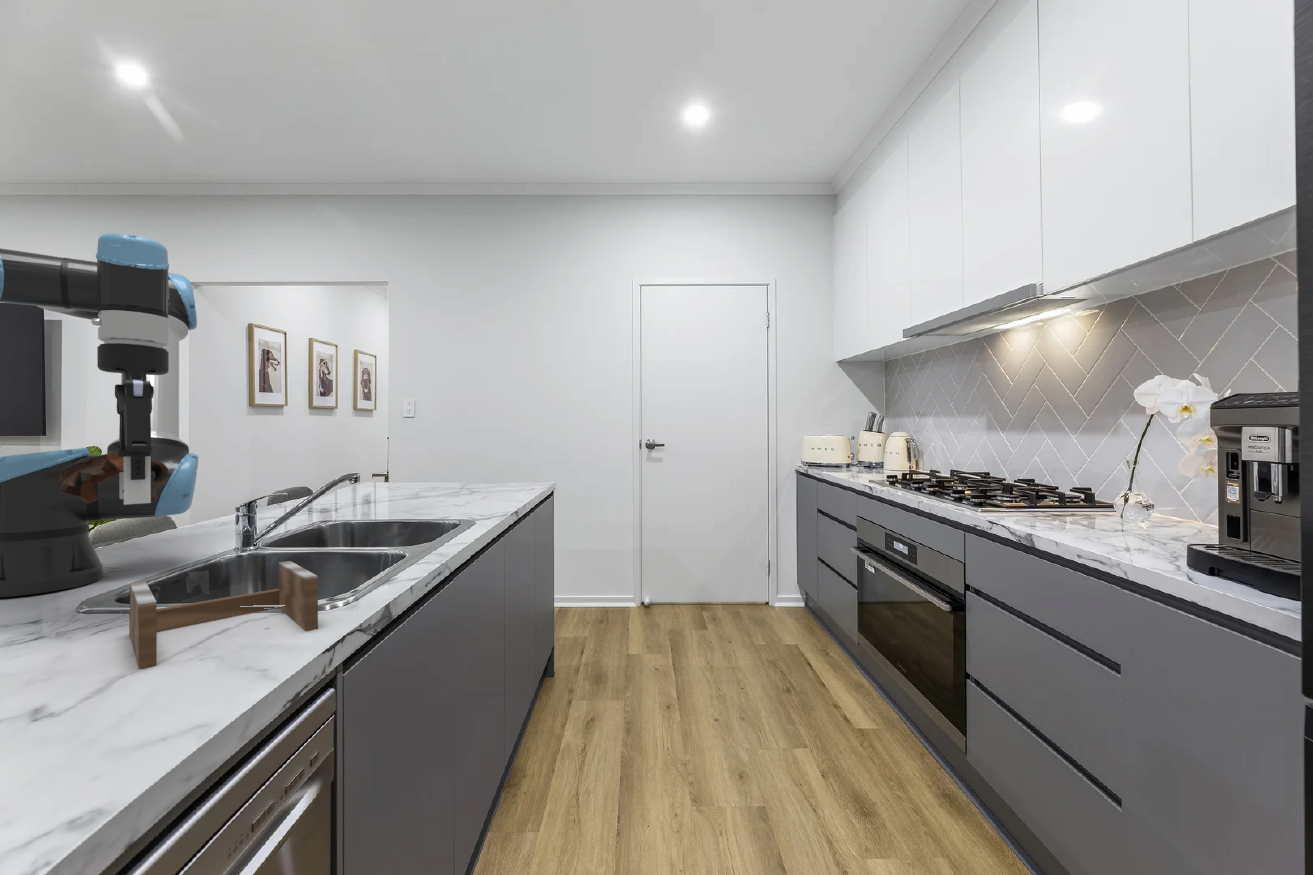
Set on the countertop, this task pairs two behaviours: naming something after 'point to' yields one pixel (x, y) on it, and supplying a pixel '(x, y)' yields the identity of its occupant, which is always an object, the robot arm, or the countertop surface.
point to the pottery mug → (103, 476)
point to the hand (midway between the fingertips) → (134, 500)
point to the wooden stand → (220, 609)
